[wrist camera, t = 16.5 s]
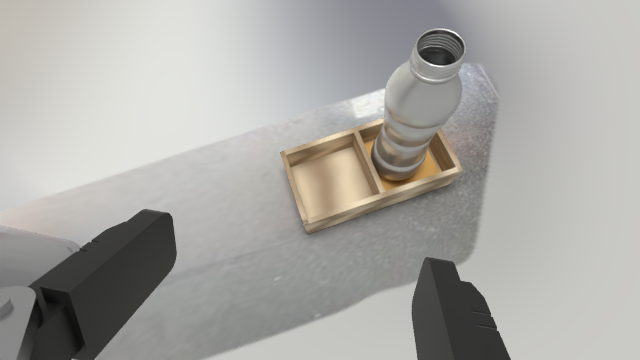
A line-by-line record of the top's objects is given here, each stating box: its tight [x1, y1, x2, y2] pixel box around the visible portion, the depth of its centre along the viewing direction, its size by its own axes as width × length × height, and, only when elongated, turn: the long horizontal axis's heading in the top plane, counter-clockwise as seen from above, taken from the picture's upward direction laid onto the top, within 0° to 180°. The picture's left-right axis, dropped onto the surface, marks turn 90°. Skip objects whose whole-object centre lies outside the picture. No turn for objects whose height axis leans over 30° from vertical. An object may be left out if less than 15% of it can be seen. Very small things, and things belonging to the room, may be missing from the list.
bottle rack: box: [280, 118, 463, 234], centre depth 40 cm, size 20×10×5 cm, turn 109°
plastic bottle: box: [371, 28, 466, 181], centre depth 32 cm, size 6×7×20 cm
